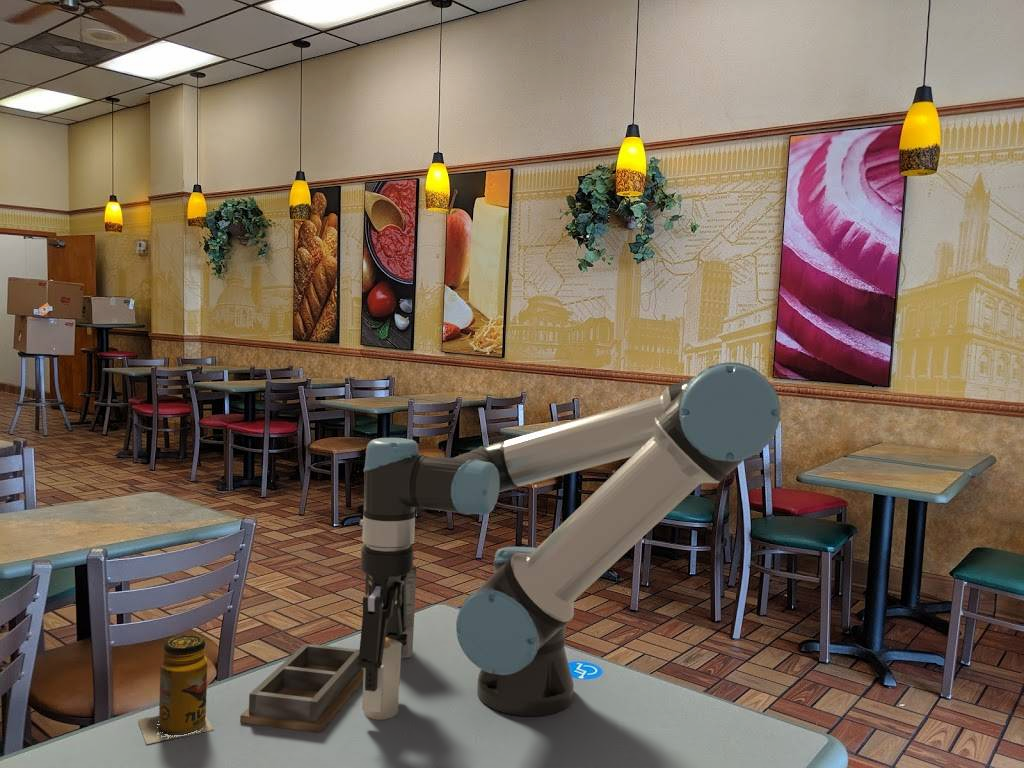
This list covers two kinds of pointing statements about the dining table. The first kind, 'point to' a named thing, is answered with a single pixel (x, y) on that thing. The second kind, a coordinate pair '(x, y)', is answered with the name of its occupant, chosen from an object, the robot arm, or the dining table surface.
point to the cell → (389, 681)
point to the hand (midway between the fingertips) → (381, 696)
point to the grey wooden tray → (306, 689)
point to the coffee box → (410, 609)
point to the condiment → (180, 691)
